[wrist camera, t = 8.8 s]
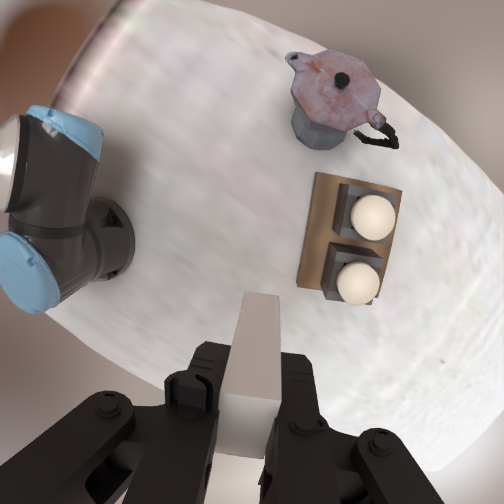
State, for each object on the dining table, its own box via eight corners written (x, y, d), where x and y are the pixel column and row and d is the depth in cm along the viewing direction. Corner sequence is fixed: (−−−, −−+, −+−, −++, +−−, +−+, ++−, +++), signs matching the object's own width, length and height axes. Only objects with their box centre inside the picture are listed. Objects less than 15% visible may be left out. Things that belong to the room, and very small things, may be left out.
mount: (296, 281, 49) (300, 302, 40) (315, 172, 44) (324, 171, 36) (373, 292, 48) (389, 313, 40) (396, 189, 43) (419, 193, 35)
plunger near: (337, 225, 43) (350, 236, 35) (343, 188, 41) (358, 191, 34) (371, 231, 43) (390, 243, 35) (378, 196, 41) (398, 200, 33)
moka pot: (297, 74, 40) (311, 13, 21) (376, 130, 41) (438, 106, 22) (264, 119, 42) (256, 79, 23) (345, 176, 44) (394, 177, 24)
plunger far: (325, 281, 45) (335, 303, 37) (333, 247, 44) (344, 262, 36) (358, 286, 45) (373, 307, 37) (366, 252, 43) (384, 268, 36)
